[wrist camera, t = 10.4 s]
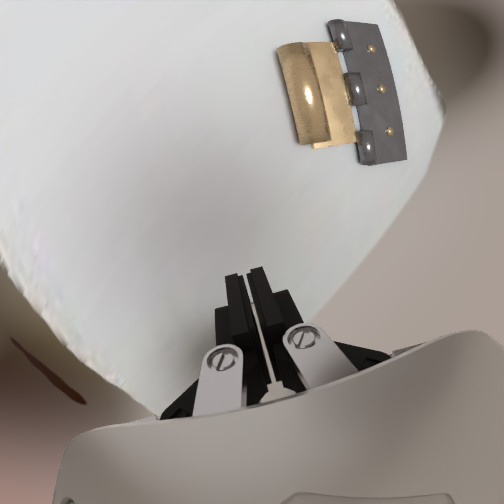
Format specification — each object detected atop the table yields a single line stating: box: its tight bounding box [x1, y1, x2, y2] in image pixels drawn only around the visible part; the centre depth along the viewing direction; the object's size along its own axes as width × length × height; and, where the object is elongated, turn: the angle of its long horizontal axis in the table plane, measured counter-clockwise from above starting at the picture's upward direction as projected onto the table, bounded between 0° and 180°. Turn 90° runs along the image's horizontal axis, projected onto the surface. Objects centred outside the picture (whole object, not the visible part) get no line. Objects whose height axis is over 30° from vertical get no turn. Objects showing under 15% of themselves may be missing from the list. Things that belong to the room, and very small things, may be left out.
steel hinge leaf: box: [328, 19, 407, 166], centre depth 32 cm, size 24×10×3 cm, turn 13°
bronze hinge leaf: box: [277, 42, 357, 149], centre depth 31 cm, size 16×9×4 cm, turn 13°
